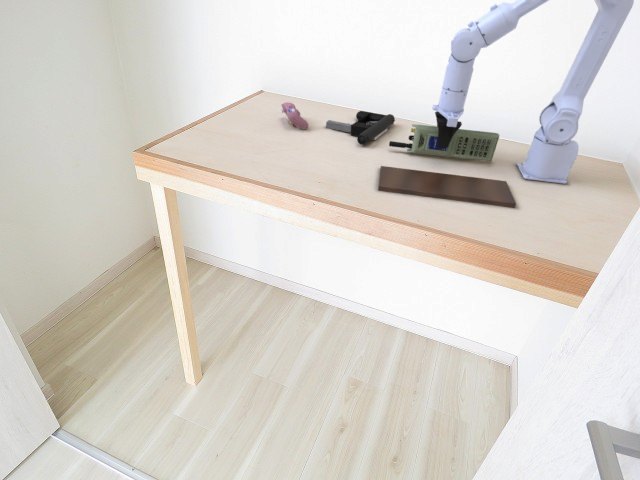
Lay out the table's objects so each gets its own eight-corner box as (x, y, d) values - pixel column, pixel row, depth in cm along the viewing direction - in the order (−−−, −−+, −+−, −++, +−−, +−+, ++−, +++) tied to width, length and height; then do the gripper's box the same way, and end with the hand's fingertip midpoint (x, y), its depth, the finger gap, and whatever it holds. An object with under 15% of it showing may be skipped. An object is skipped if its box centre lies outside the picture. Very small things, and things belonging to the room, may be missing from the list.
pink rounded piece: (287, 123, 121) (276, 101, 116) (300, 115, 120) (290, 93, 116) (295, 136, 113) (284, 114, 109) (310, 128, 113) (299, 105, 108)
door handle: (315, 125, 110) (371, 136, 103) (349, 105, 124) (400, 114, 117) (315, 137, 112) (370, 149, 105) (348, 116, 126) (399, 126, 119)
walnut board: (505, 184, 93) (506, 181, 93) (514, 207, 85) (516, 203, 85) (380, 169, 96) (380, 165, 96) (378, 190, 88) (378, 186, 87)
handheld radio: (491, 163, 101) (388, 151, 103) (489, 157, 103) (388, 146, 106) (500, 136, 97) (392, 125, 99) (497, 131, 99) (392, 120, 102)
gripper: (435, 78, 100) (423, 132, 108) (439, 96, 88) (426, 155, 96) (465, 81, 99) (451, 135, 107) (473, 99, 88) (457, 159, 96)
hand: (441, 145), depth 102 cm, fingers closed on handheld radio, 3 cm apart
